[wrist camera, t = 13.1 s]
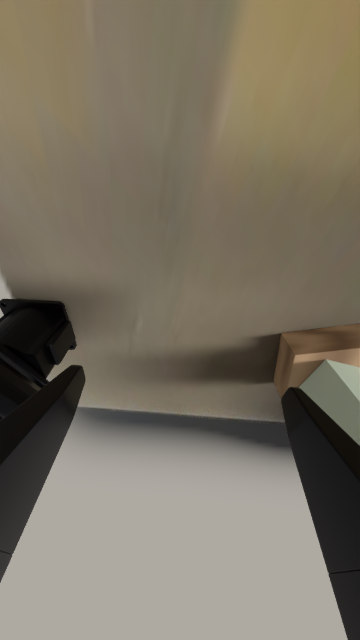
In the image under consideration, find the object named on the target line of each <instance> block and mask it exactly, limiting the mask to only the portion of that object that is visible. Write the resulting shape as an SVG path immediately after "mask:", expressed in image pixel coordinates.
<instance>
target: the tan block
mask: <svg viewBox="0 0 360 640" xmlns="http://www.w3.org/2000/svg"><path fill="white" fill-rule="evenodd" d="M325 359H327V360H331V361H335V362H339V363H344V364H348V365H352V366H356V367H360V324H353V325H345V326H336V327H328V328H319V329H311V330H303V331H294V332H286V333H281V338H280V344H279V351H278V357H277V363H276V369H275V376H274V383H275V386H276V388H277V390H278V392H279V395H280V397H281V399H282V396H283V395H284V393H285V392H286V390H287V389H288V388H289V387H298V388H299V387H300V386H301V384H302V383H303V382H304V381H305V380H306V379H307V378H308V377H309V376H310V375H311V374H312V373H313V372H314V371H315V370H316V369H317V368H318V367H319V366H320V365H321V364H322V363H323V361H324V360H325Z"/></svg>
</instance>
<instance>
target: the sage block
mask: <svg viewBox="0 0 360 640" xmlns="http://www.w3.org/2000/svg"><path fill="white" fill-rule="evenodd" d="M299 388H300V389H302V390H303V391H304V392H305V393H306V394H307V395H308V396H309V397H310V398H311V399H312V400H313V401H314V402H315V403H316V404H317V405H318V406H319V407H320V408H321V409H322V410H323V411H324V412H326V413H327V414H328V415H329V416H330V417H331V418H332V419H333V420H334V421H335V422H336V423H337V424H338V425H339V426H340V427H341V428H342V429H343V430H344V431H345V432H346V433H347V434H348V435H349V436H350V437H351V438H352V439H353V440H354V441H355V442H357V443H358V444H359V445H360V367H356V366H352V365H348V364H344V363H339V362H335V361H331V360H327V359H325V360H324V361H323V363H322V364H321V365H320V366H319V367H318V368H317V369H316V370H315V371H314V372H313V373H312V374H311V375H310V376H309V377H308V378H307V379H306V380H305V381H304V382H303V383H302V384H301V386H300V387H299Z"/></svg>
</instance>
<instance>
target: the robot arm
mask: <svg viewBox="0 0 360 640" xmlns="http://www.w3.org/2000/svg"><path fill="white" fill-rule="evenodd" d="M58 306H59V307H60V308H59V307H58ZM0 308H1V310H2V312H3V314H4V316H3V317H1V318H0V582H1V580H2V577H3V575H4V573H5V571H6V569H7V566H8V564H9V562H10V560H11V557H12V554H13V553H14V550H15V548H16V546H17V543H18V541H19V539H20V537H21V535H22V532H23V530H24V528H25V526H26V523H27V521H28V519H29V517H30V514H31V512H32V510H33V508H34V505H35V503H36V501H37V499H38V496H39V494H40V492H41V490H42V488H43V485H44V483H45V481H46V479H47V476H48V474H49V472H50V470H51V467H52V465H53V463H54V460H55V458H56V456H57V454H58V452H59V449H60V447H61V445H62V442H63V440H64V438H65V436H66V434H67V431H68V429H69V427H70V425H71V422H72V420H73V417H74V415H75V412H76V408H77V406H78V402H79V399H80V396H81V393H82V390H83V387H84V384H85V374H84V370H83V367H82V366H80V365H71V366H69V367H68V368H67V369H66V370H64V371H63V372H62V373H60V374H59V375H58V376H57V377H55V378H54V379H53V380H52V381H50V382H49V381H48V380H46V378H47V376H48V375H49V373H50V372H51V370H52V369H53V367H54V365H58V364H60V363H61V361H62V359H63V358H64V356H65V355H66V353H67V351H68V350H74V349H75V348H76V346H77V344H76V341H75V335H74V332H73V328H72V325H71V322H70V321H69V318H68V315H67V312H66V309H65V306H64V304H63V303H61V302H54V301H35V300H17V299H2V300H1V301H0ZM71 345H72V346H71ZM281 403H282V408H283V413H284V419H285V424H286V429H287V434H288V438H289V442H290V445H291V449H292V452H293V455H294V459H295V462H296V466H297V469H298V472H299V476H300V479H301V482H302V486H303V489H304V492H305V496H306V499H307V502H308V506H309V509H310V513H311V516H312V520H313V523H314V526H315V530H316V533H317V537H318V540H319V543H320V547H321V550H322V553H323V557H324V560H325V564H326V567H327V570H328V573H329V577H330V581H331V584H332V588H333V591H334V595H335V598H336V601H337V605H338V608H339V611H340V615H341V618H342V622H343V625H344V628H345V631H346V635H347V638H348V640H360V445H359V444H358V443H357V442H355V441H354V440H353V439H352V438H351V437H350V436H349V435H348V434H347V433H346V432H345V431H344V430H343V429H342V428H341V427H340V426H339V425H338V424H337V423H336V422H335V421H334V420H333V419H332V418H331V417H330V416H329V415H328V414H327V413H326V412H324V411H323V410H322V409H321V408H320V407H319V406H318V405H317V404H316V403H315V402H314V401H313V400H312V399H311V398H310V397H309V396H308V395H307V394H306V393H305V392H304V391H303V390H302V389H300V388H298V387H289V388H288V389H287V390H286V392H285V393H284V395H283V396H282V399H281Z"/></svg>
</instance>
